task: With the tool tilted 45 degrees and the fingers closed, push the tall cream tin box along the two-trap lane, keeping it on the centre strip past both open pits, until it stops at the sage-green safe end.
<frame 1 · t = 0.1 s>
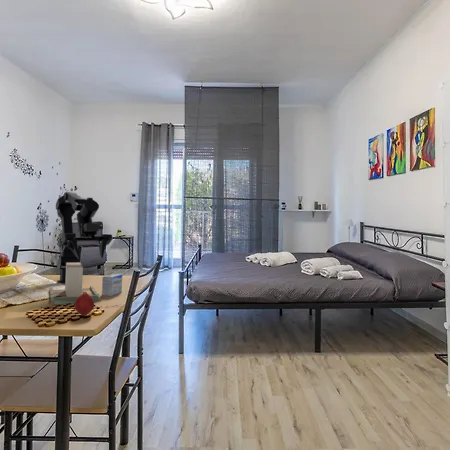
hand: (90, 258, 139), 15 cm above the table, tool tilted 35°, fingers open, 9 cm apart
lane: (73, 298, 133), on the table
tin: (73, 293, 135), point 1 cm above the table, touching lane
onion: (84, 316, 112), on the table
medicine box: (111, 297, 139), on the table
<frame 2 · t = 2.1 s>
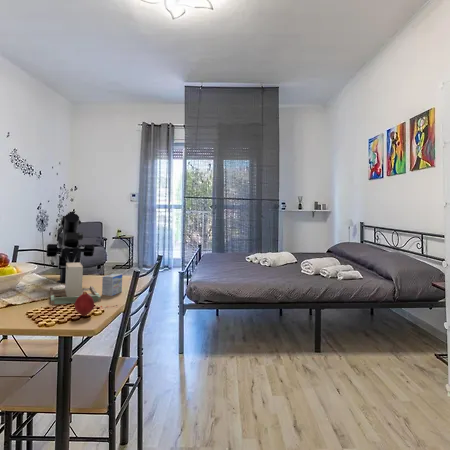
hand: (71, 265, 147), 10 cm above the table, tool tilted 45°, fingers closed
nothing on the table moved.
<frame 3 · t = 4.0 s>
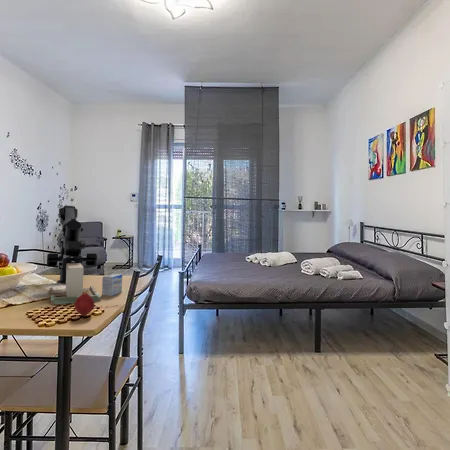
hand: (73, 276, 139), 7 cm above the table, tool tilted 45°, fingers closed, pressing on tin
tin: (73, 294, 133), point 2 cm above the table, touching gripper
everything else where it was.
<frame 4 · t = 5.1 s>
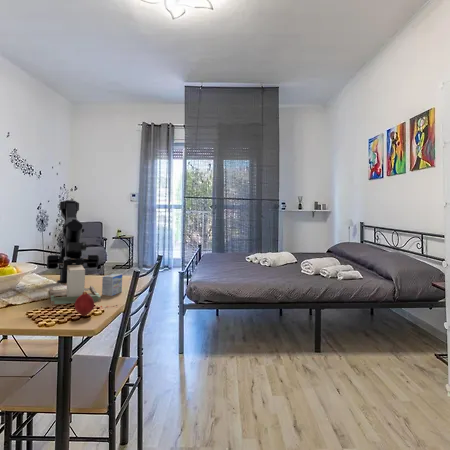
hand: (73, 279, 134), 7 cm above the table, tool tilted 45°, fingers closed, pressing on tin
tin: (74, 297, 129), point 2 cm above the table, touching gripper, lane
everything else where it was.
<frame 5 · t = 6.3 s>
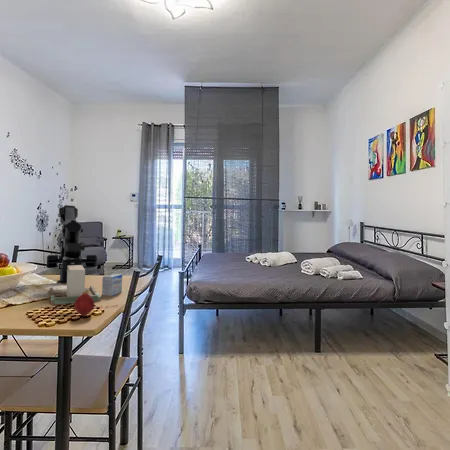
hand: (72, 278, 139), 6 cm above the table, tool tilted 45°, fingers closed
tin: (74, 297, 129), point 1 cm above the table, touching lane
everything else where it was.
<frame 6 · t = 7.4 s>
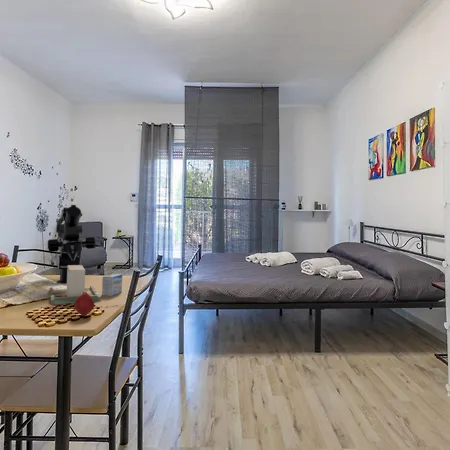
hand: (73, 260, 147), 13 cm above the table, tool tilted 40°, fingers closed
nothing on the table moved.
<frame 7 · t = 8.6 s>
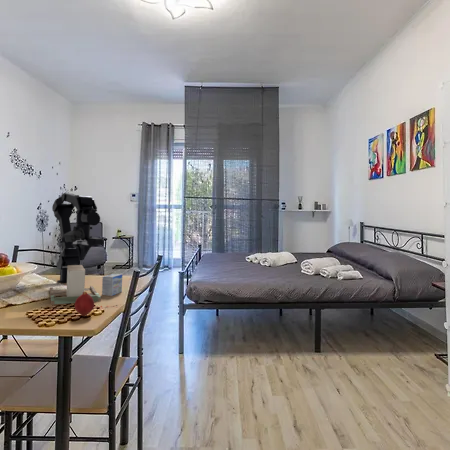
hand: (81, 260, 152), 12 cm above the table, tool pointing down, fingers closed
nothing on the table moved.
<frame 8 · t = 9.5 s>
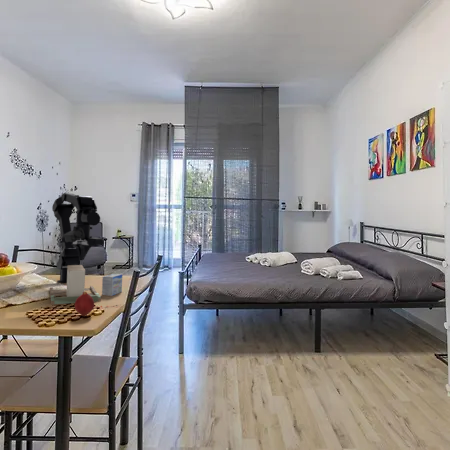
hand: (81, 260, 152), 12 cm above the table, tool pointing down, fingers closed
nothing on the table moved.
at the end: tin inside the target area (0.1 cm from its centre), point 1.5 cm above the table; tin tilted 0°; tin moved 7.3 cm from its start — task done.
